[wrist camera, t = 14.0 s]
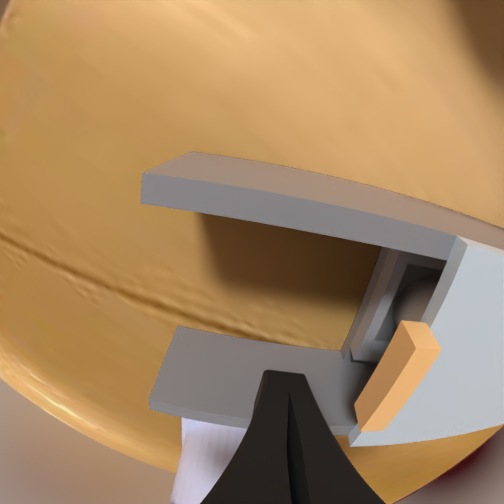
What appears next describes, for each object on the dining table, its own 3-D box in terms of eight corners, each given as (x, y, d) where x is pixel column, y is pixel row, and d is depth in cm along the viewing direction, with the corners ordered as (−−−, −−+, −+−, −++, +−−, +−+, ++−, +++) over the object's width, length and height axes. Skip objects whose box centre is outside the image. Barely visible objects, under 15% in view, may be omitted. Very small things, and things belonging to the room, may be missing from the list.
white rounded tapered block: (431, 332, 17) (461, 385, 13) (383, 328, 17) (408, 387, 13) (457, 281, 16) (498, 329, 11) (407, 272, 16) (446, 325, 11)
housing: (480, 364, 20) (508, 414, 14) (177, 337, 20) (150, 409, 14) (542, 245, 15) (591, 283, 9) (191, 151, 15) (142, 173, 9)
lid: (507, 414, 14) (516, 431, 12) (327, 435, 14) (331, 465, 12) (591, 282, 9) (607, 298, 7) (432, 228, 9) (461, 253, 7)
